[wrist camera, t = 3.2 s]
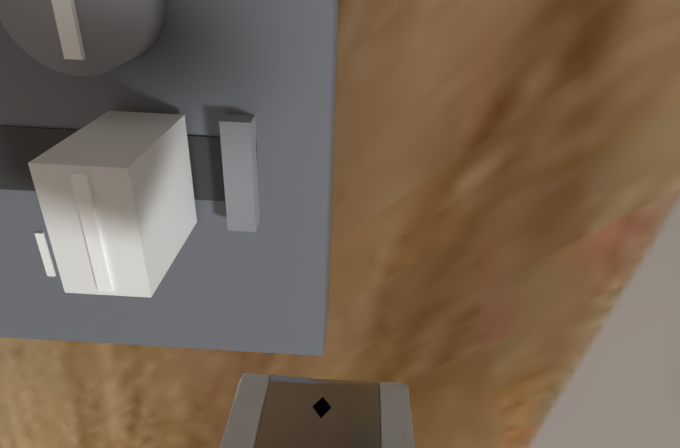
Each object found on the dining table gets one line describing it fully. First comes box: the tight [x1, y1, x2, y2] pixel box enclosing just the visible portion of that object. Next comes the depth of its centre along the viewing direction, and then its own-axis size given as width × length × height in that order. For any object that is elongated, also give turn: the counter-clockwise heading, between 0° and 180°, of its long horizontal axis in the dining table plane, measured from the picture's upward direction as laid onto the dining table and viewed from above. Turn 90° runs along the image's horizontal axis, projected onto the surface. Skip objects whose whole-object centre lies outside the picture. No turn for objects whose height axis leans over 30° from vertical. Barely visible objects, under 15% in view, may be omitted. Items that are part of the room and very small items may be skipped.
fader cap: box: [28, 111, 197, 298], centre depth 15 cm, size 4×2×5 cm, turn 178°
